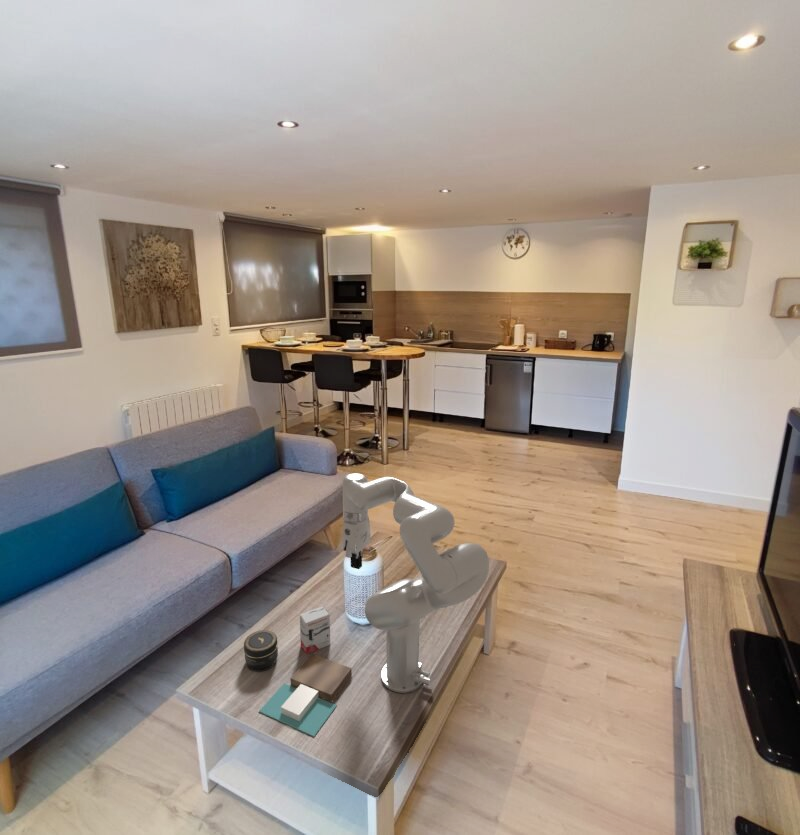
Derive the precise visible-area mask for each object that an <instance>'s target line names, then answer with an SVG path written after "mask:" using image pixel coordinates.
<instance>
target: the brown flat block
mask: <svg viewBox="0 0 800 835" xmlns="http://www.w3.org/2000/svg"><path fill="white" fill-rule="evenodd" d="M352 674H353V673H352V667H349V666H346V665H344V664H341V663H339V662H336V661H334V660H330V659H327V658H326V657H322V656H320V655H317V654H315V653H311V655H309V657H308V658H307V659H306V660H305V661H304V663H302V664H301V666H300V667H299V668H298V669H297V670H296V671H295V672H294V673H293V674H292V676H291V677H290V678H289V679H290V686H292V687H294V688H298V687H299V686H300V684H303V685H305V686H307V687H310V688H312V689H315V690H317V691H318V693H319V697H318V698H321V699H323V700H325V701H328V702H330V703H332V702H333V701H334V699H335V698H336V697H337V695H338V694H339V693H340V691H341V690H342V689H343V688H344V687H345V685H346V683H347V682H348V681H349V679H350V678H351V676H352Z"/></svg>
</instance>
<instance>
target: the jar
mask: <svg viewBox="0 0 800 835" xmlns="http://www.w3.org/2000/svg"><path fill="white" fill-rule="evenodd" d="M278 641H279V640H278V637H277V635H276V634H275V632H273V631H271V630H269V629H268V630H266V629H262V630H257V631H255V632H254V631H253V632H252V633H250V634H248V636H247V637H246V638H245V639H244V642H243V651H244V652H243V653H244V660H245V664H246V666H247V667H248V669H249V670H252V671H254V672H262V671H263V672H264V671H266V670H268V669H271V668H272V667H273V666H275V664H276V662H277V660H278V656H279V650H278V646H279V645H278V644H279V642H278Z"/></svg>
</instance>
